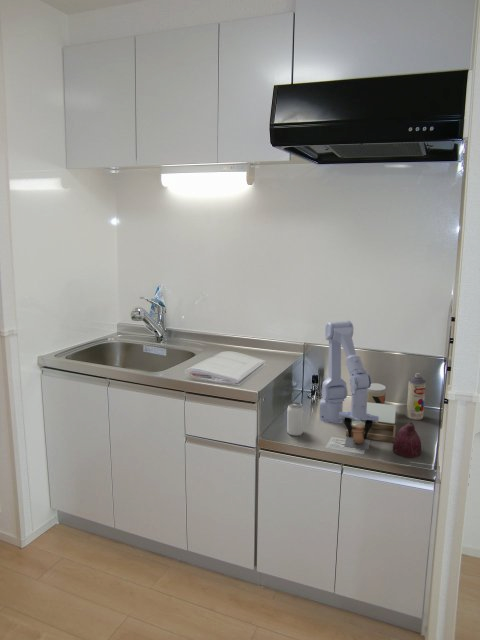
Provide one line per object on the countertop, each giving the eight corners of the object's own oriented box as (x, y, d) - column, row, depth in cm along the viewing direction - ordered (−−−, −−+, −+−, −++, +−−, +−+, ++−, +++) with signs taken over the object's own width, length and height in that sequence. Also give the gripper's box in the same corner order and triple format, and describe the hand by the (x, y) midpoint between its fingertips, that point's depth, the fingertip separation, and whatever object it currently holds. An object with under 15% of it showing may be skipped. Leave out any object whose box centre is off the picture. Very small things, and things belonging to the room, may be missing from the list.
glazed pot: (350, 434, 198) (350, 425, 197) (351, 429, 203) (351, 419, 202) (363, 436, 196) (364, 427, 195) (365, 430, 201) (365, 421, 200)
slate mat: (344, 447, 189) (344, 446, 189) (346, 438, 196) (346, 436, 196) (368, 450, 186) (368, 449, 186) (370, 441, 193) (370, 440, 193)
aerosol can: (412, 421, 210) (415, 377, 205) (403, 415, 216) (406, 371, 212) (426, 419, 212) (429, 375, 207) (416, 413, 218) (419, 370, 214)
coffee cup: (374, 418, 214) (375, 392, 211) (358, 410, 222) (359, 385, 219) (389, 413, 219) (391, 387, 216) (374, 406, 227) (375, 381, 224)
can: (294, 427, 206) (294, 400, 203) (306, 432, 202) (306, 404, 199) (283, 432, 202) (284, 405, 199) (296, 437, 197) (296, 409, 194)
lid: (353, 400, 215) (353, 401, 215) (350, 418, 207) (350, 418, 207) (396, 405, 210) (395, 406, 210) (394, 423, 202) (394, 424, 202)
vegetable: (421, 467, 180) (431, 435, 173) (392, 461, 182) (401, 430, 174) (418, 447, 189) (427, 416, 182) (390, 442, 191) (399, 411, 184)
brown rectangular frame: (345, 437, 197) (346, 424, 196) (351, 417, 215) (351, 405, 214) (394, 443, 191) (395, 430, 190) (396, 422, 209) (396, 410, 208)
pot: (350, 443, 190) (349, 430, 189) (353, 437, 194) (352, 424, 193) (364, 444, 188) (363, 431, 186) (367, 438, 192) (366, 425, 191)
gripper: (338, 405, 186) (337, 439, 189) (378, 410, 181) (376, 444, 184) (340, 399, 192) (339, 431, 196) (379, 403, 188) (377, 436, 191)
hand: (357, 437), depth 190 cm, fingers closed on pot, 5 cm apart
